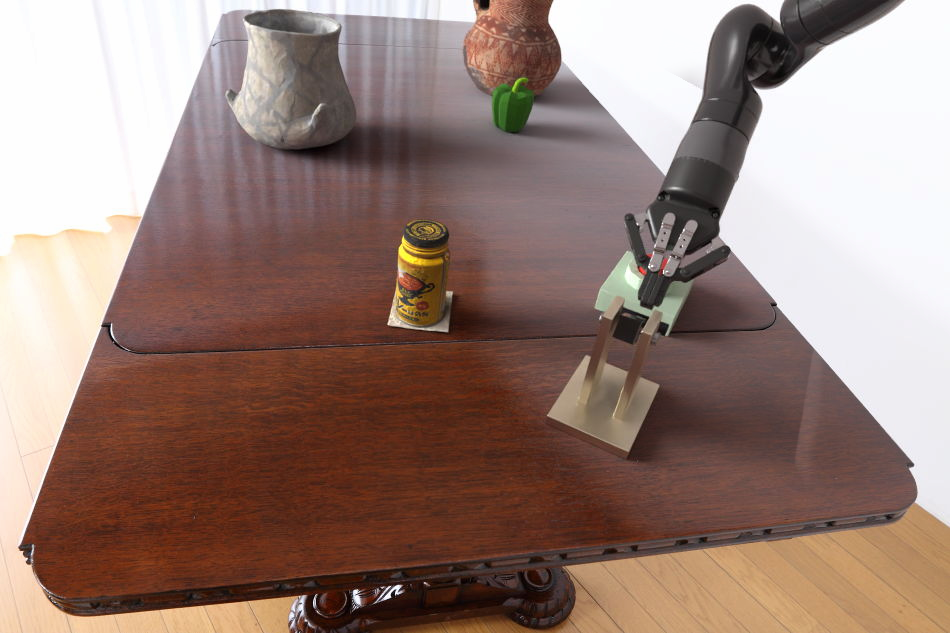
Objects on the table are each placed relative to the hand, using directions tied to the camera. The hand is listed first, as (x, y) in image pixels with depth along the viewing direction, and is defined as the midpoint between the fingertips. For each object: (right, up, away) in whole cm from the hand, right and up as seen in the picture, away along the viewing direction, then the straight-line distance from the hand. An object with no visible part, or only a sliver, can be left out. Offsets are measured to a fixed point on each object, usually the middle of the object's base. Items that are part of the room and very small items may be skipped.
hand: (646, 306), depth 77 cm
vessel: (-52, +31, +44) cm, 75 cm away
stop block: (+4, +1, +16) cm, 16 cm away
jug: (-12, +51, +79) cm, 95 cm away
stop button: (+4, +5, +13) cm, 14 cm away
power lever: (-3, -3, -4) cm, 6 cm away
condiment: (-26, 0, +8) cm, 27 cm away
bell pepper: (-12, +37, +61) cm, 72 cm away
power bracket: (-5, -11, -2) cm, 12 cm away
